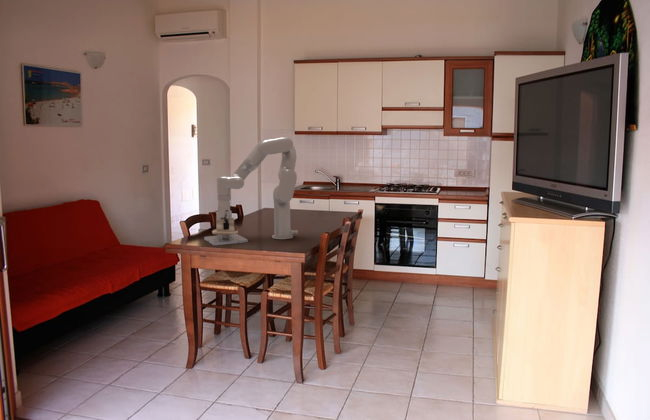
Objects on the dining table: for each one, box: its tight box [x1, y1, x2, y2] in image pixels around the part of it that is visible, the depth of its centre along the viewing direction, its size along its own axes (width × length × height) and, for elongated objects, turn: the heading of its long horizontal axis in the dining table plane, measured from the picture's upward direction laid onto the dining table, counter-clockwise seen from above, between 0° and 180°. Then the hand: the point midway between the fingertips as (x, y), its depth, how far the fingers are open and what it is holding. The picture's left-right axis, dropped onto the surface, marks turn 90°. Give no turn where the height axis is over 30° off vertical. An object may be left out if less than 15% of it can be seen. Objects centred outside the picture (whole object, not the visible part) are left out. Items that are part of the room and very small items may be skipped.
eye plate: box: [203, 233, 249, 246], centre depth 327 cm, size 20×20×2 cm
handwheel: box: [211, 217, 239, 238], centre depth 326 cm, size 15×15×11 cm
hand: (224, 228), depth 326 cm, fingers closed on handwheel, 5 cm apart
